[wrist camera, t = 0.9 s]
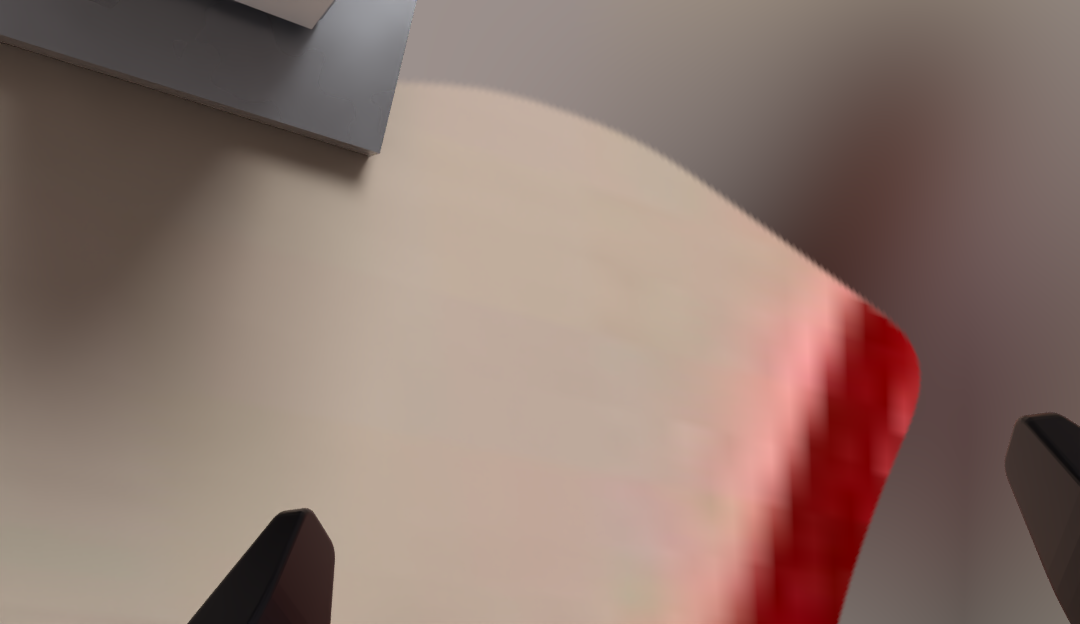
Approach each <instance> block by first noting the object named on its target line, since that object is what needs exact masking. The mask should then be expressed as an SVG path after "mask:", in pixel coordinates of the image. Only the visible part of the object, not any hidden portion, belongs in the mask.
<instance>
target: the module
mask: <svg viewBox="0 0 1080 624" xmlns="http://www.w3.org/2000/svg"><path fill="white" fill-rule="evenodd" d="M234 1H237V2H240V3H242V4H245V5H248V6H250V7H253V8H256V9H258V10H261V11H264V12H266V13H269V14H272V15H275V16H277V17H280V18H283V19H285V20H288V21H291V22H293V23H296V24H299V25H301V26H304V27H307V28H309V29H312V28H313V27H314V25H315V24H316V23H317V22H318V20H319V19H320V20H322V18H323V17H324V16H325V14H326V13H327V12H328V10H329V9H330V8H331V7H332V5H333V4H334V3H335V1H336V0H234Z"/></svg>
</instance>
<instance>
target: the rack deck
mask: <svg viewBox="0 0 1080 624" xmlns="http://www.w3.org/2000/svg"><path fill="white" fill-rule="evenodd" d="M416 1H417V0H336V1H335V3H334V4H333V5H332V7H331V8H330V9H329V10H328V12H327V13H326V14H325V16H324V17H323V18H322V20H320V19H319V20H318V22H317V23H316V24H315V25H314V27H313V28H312V29H309V28H307V27H304V26H301V25H299V24H296V23H293V22H291V21H288V20H285V19H283V18H280V17H277V16H275V15H272V14H269V13H266V12H264V11H261V10H258V9H256V8H253V7H250V6H248V5H245V4H242V3H240V2H237V1H234V0H0V42H3V43H6V44H9V45H12V46H16V47H19V48H22V49H25V50H29V51H32V52H35V53H38V54H42V55H45V56H48V57H51V58H54V59H58V60H61V61H64V62H67V63H71V64H74V65H77V66H80V67H83V68H87V69H90V70H93V71H96V72H100V73H103V74H106V75H109V76H113V77H116V78H119V79H122V80H125V81H129V82H132V83H135V84H138V85H142V86H145V87H148V88H151V89H155V90H158V91H161V92H164V93H167V94H171V95H174V96H177V97H180V98H184V99H187V100H190V101H193V102H197V103H200V104H203V105H206V106H209V107H213V108H216V109H219V110H222V111H226V112H229V113H232V114H235V115H239V116H242V117H245V118H248V119H251V120H255V121H258V122H261V123H264V124H268V125H271V126H274V127H277V128H281V129H284V130H287V131H290V132H293V133H297V134H300V135H303V136H306V137H310V138H313V139H316V140H319V141H323V142H326V143H329V144H332V145H335V146H339V147H342V148H345V149H348V150H352V151H355V152H358V153H361V154H365V155H368V156H372V155H376V154H379V153H380V150H381V146H382V142H383V138H384V133H385V129H386V125H387V121H388V117H389V113H390V109H391V105H392V100H393V96H394V92H395V88H396V84H397V80H398V76H399V71H400V67H401V63H402V59H403V55H404V51H405V47H406V42H407V38H408V34H409V30H410V26H411V22H412V18H413V14H414V10H415V5H416Z"/></svg>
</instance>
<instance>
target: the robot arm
mask: <svg viewBox="0 0 1080 624" xmlns="http://www.w3.org/2000/svg"><path fill="white" fill-rule="evenodd" d="M1005 472H1006V476H1007V479H1008V481H1009V484H1010V486H1011V489H1012V491H1013V494H1014V496H1015V499H1016V501H1017V503H1018V506H1019V508H1020V511H1021V513H1022V515H1023V518H1024V521H1025V523H1026V525H1027V528H1028V530H1029V533H1030V535H1031V538H1032V540H1033V542H1034V545H1035V547H1036V550H1037V552H1038V555H1039V557H1040V560H1041V562H1042V565H1043V567H1044V570H1045V572H1046V574H1047V577H1048V579H1049V581H1050V583H1051V586H1052V588H1053V590H1054V592H1055V595H1056V597H1057V599H1058V601H1059V603H1060V605H1061V606H1062V608H1063V610H1064V612H1065V614H1066V616H1067V618H1068V620H1069V621H1070V623H1071V624H1080V426H1079V425H1077V424H1076V423H1074V422H1073V421H1071V420H1069V419H1068V418H1066V417H1065V416H1063V415H1060V414H1058V413H1054V412H1046V413H1038V414H1031V415H1024V416H1021V417H1020V418H1018V419H1017V420H1016V422H1015V425H1014V428H1013V432H1012V435H1011V439H1010V442H1009V446H1008V449H1007V453H1006V456H1005ZM334 565H335V552H334V547H333V544H332V541H331V540H330V538H329V536H328V535H327V533H326V531H325V530H324V528H323V527H322V525H321V523H320V522H319V520H318V518H317V517H316V515H315V514H314V512H313V511H312V510H310V509H308V508H302V509H294V510H287V511H283V512H280V513H279V514H278V515H276V516H275V517H274V518H273V520H272V521H271V522H270V523H269V524H268V526H267V527H266V528H265V529H264V531H263V532H262V533H261V534H260V535H259V537H258V538H257V539H256V540H255V542H254V543H253V544H252V545H251V546H250V548H249V549H248V550H247V551H246V553H245V554H244V555H243V556H242V557H241V559H240V560H239V561H238V562H237V564H236V565H235V566H234V567H233V568H232V570H231V571H230V572H229V573H228V575H227V576H226V577H225V578H224V579H223V581H222V582H221V583H220V584H219V586H218V587H217V588H216V589H215V590H214V592H213V593H212V594H211V595H210V597H209V598H208V599H207V600H206V601H205V603H204V604H203V605H202V606H201V608H200V609H199V610H198V611H197V612H196V614H195V615H194V616H193V617H192V619H191V620H190V621H189V622H188V623H187V624H330V622H331V608H332V593H333V579H334Z"/></svg>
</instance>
